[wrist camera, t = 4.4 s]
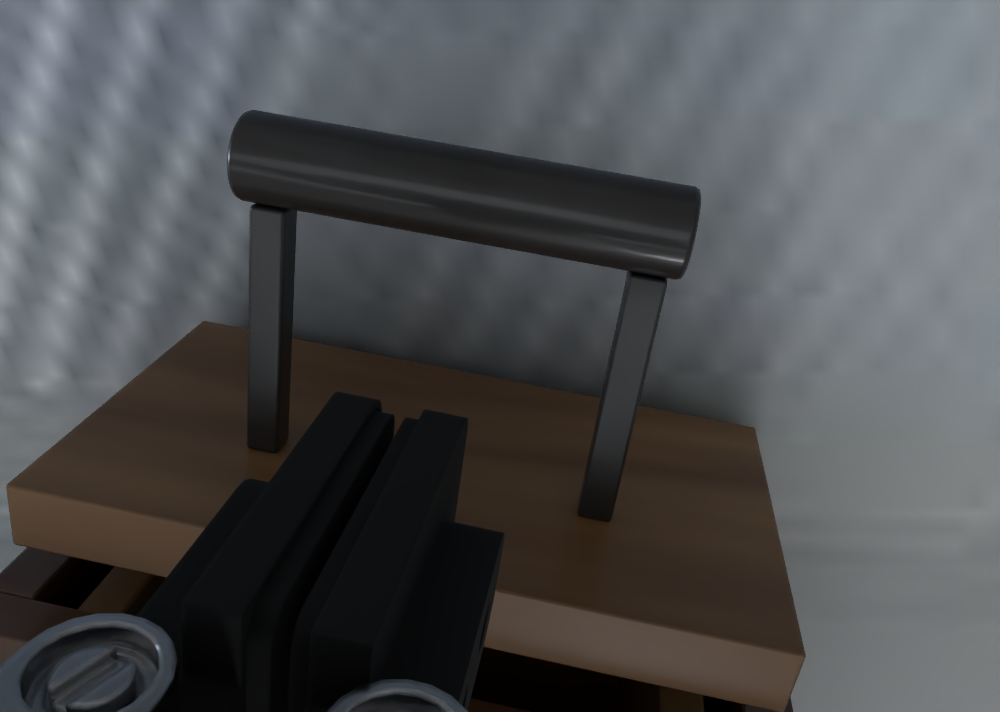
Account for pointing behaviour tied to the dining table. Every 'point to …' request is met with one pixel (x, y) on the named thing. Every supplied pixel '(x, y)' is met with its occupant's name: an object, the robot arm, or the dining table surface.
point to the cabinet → (66, 585)
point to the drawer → (489, 444)
